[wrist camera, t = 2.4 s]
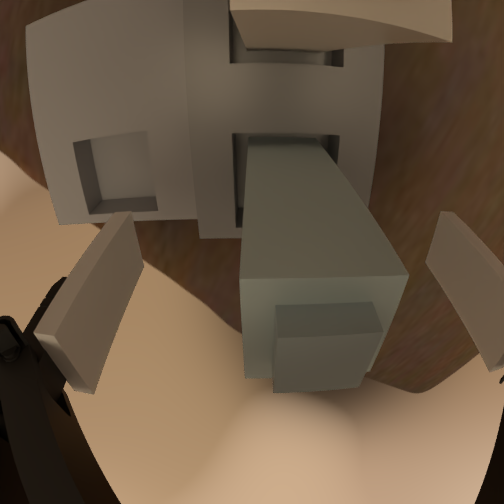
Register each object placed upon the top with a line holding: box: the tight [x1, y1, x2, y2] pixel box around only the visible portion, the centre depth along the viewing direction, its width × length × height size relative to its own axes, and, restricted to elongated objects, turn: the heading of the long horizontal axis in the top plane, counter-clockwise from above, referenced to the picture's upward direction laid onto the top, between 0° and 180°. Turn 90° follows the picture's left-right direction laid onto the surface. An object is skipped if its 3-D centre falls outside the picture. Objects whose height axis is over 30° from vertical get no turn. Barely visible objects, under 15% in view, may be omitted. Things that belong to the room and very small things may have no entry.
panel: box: [26, 0, 385, 239], centre depth 16 cm, size 16×22×6 cm
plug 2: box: [239, 137, 409, 393], centre depth 13 cm, size 4×4×14 cm
